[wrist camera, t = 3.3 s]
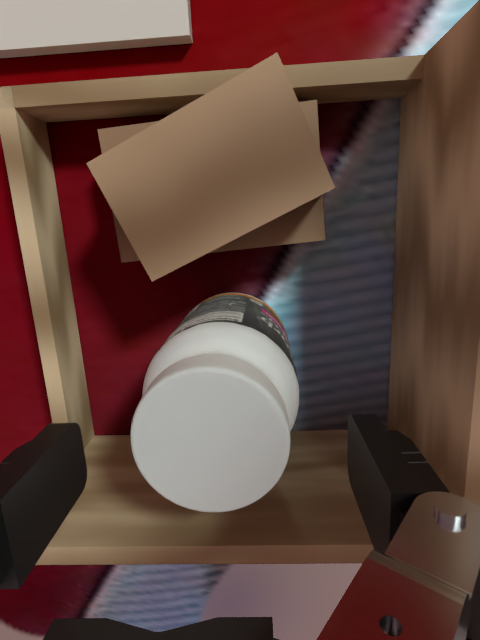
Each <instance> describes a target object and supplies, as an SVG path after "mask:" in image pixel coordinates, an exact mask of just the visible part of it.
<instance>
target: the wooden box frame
mask: <svg viewBox="0 0 480 640" xmlns="http://www.w3.org/2000/svg"><path fill="white" fill-rule="evenodd" d="M283 67H284V69H285V71H286V74H287V76H288V78H289V81H290V83H291V85H292V88H293V90H294V92H295V95H296V97H297V99H298V102H303V101H310V100H317V104H321V103H336V102H350V101H365V100H379V99H393V98H401V107H400V132H399V157H398V181H397V206H396V231H395V256H394V280H393V305H392V330H391V355H390V379H389V404H388V429H386V430H387V431H388V430H397V431H399V432H400V433H402V434H403V435H405V436H407V437H408V438H410V439H411V440H412V441H413V442H414V444H415V445H416V447H417V448H418V449H419V451H420V453H422V455H423V456H424V458H425V459H426V460H427V463H429V464H430V466H431V467H432V468H433V470H434V471H435V473H436V474H437V475H438V477H439V478H440V479H441V481H442V482H443V484H444V485H445V486H446V488H447V489H448V490H449V492H450V493H452V494H455V495H458V496H461V497H463V498H466V499H468V500H470V501H471V502H473V503H474V504H476V505H477V506H479V507H480V0H479V1H478V2H477V3H476V4H475V5H474V6H473V7H472V8H471V9H470V10H469V11H468V12H467V13H466V14H465V15H464V16H463V17H462V18H461V19H460V20H459V21H458V22H457V23H456V24H455V25H454V26H453V27H452V28H451V29H450V30H449V31H448V32H447V33H446V34H445V35H444V36H443V37H442V38H441V39H440V40H439V41H438V42H437V43H436V44H435V45H434V46H433V47H432V48H431V49H430V50H429V51H428V52H427V53H426V54H425V55H418V56H405V57H392V58H378V59H365V60H352V61H338V62H325V63H312V64H298V65H285V66H283ZM248 69H250V68H245V69H232V70H218V71H205V72H192V73H178V74H165V75H152V76H138V77H125V78H112V79H98V80H85V81H72V82H58V83H45V84H31V85H18V86H5V87H0V134H1V140H2V146H3V151H4V157H5V162H6V168H7V173H8V179H9V184H10V190H11V195H12V201H13V207H14V212H15V218H16V223H17V229H18V234H19V240H20V245H21V251H22V256H23V262H24V268H25V273H26V279H27V284H28V290H29V295H30V301H31V306H32V312H33V317H34V323H35V329H36V334H37V340H38V345H39V351H40V356H41V362H42V367H43V373H44V378H45V384H46V390H47V395H48V401H49V406H50V412H51V417H52V423H77V424H78V425H79V426H80V429H81V434H82V440H83V447H84V453H85V459H86V465H87V481H86V485H85V488H84V490H83V492H82V494H81V495H80V497H79V498H78V500H77V501H76V503H75V504H74V506H73V508H72V509H71V511H70V512H69V514H68V515H67V517H66V518H65V520H64V521H63V523H62V524H61V526H60V527H59V529H58V531H57V532H56V534H55V535H54V537H53V538H52V540H51V541H50V543H49V544H48V546H47V547H46V549H45V551H44V552H43V554H42V555H41V557H40V558H39V560H38V561H37V563H36V564H35V565H124V564H295V563H296V564H302V563H303V564H306V563H307V564H308V563H363V562H364V561H365V559H366V557H367V556H368V554H369V553H370V552H371V551H372V550H374V548H373V545H372V542H371V540H370V537H369V534H368V532H367V529H366V526H365V523H364V521H363V518H362V515H361V512H360V510H359V507H358V504H357V502H356V499H355V496H354V493H353V491H352V488H351V485H350V481H349V475H348V466H347V448H348V430H311V431H291V432H290V440H291V442H290V452H289V458H288V461H287V464H286V467H285V469H284V471H283V473H282V475H281V477H280V479H279V480H278V482H277V483H276V484H275V485H274V487H273V488H272V489H271V490H270V491H269V492H267V493H266V494H265V495H264V496H263V497H261V498H260V499H259V500H257V501H255V502H253V503H252V504H250V505H248V506H245V507H242V508H239V509H236V510H232V511H226V512H200V511H196V510H191V509H188V508H185V507H182V506H180V505H177V504H175V503H173V502H171V501H170V500H168V499H166V498H165V497H163V496H162V495H161V494H159V493H158V492H157V491H156V490H155V489H154V488H153V487H151V486H150V484H149V483H148V482H147V481H146V479H145V478H144V477H143V476H142V474H141V472H140V470H139V469H138V467H137V465H136V462H135V460H134V457H133V453H132V448H131V436H130V435H102V436H94V429H93V423H92V416H91V410H90V403H89V397H88V390H87V384H86V377H85V371H84V364H83V358H82V351H81V345H80V338H79V332H78V325H77V319H76V312H75V306H74V299H73V293H72V286H71V280H70V273H69V267H68V260H67V254H66V247H65V241H64V234H63V228H62V221H61V215H60V208H59V202H58V195H57V189H56V182H55V176H54V169H53V163H52V156H51V150H50V143H49V137H48V130H47V124H46V123H47V122H61V121H76V120H90V119H105V118H119V117H134V116H148V115H162V114H172V113H174V112H175V111H177V110H179V109H181V108H182V107H184V106H186V105H188V104H189V103H191V102H193V101H194V100H196V99H198V98H200V97H201V96H203V95H205V94H206V93H208V92H210V91H212V90H213V89H215V88H217V87H219V86H220V85H222V84H224V83H225V82H227V81H229V80H231V79H232V78H234V77H236V76H237V75H239V74H241V73H243V72H244V71H246V70H248Z"/></svg>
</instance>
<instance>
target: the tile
mask: <svg viewBox="0 0 480 640" xmlns="http://www.w3.org/2000/svg"><path fill="white" fill-rule="evenodd" d="M189 43H193V39H192V25H191V11H190V0H0V58H12V57H25V56H37V55H50V54H62V53H75V52H88V51H100V50H113V49H126V48H138V47H151V46H164V45H176V44H189Z"/></svg>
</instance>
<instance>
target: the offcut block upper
mask: <svg viewBox="0 0 480 640" xmlns="http://www.w3.org/2000/svg"><path fill="white" fill-rule="evenodd" d="M86 164H87V165H88V167H89V169H90V171H91V173H92V174H93V176H94V178H95V180H96V182H97V184H98V185H99V187H100V189H101V191H102V193H103V194H104V196H105V198H106V200H107V202H108V203H109V205H110V207H111V209H112V211H113V212H114V214H115V216H116V218H117V220H118V221H119V223H120V225H121V227H122V229H123V230H124V232H125V234H126V236H127V238H128V239H129V241H130V243H131V245H132V247H133V248H134V250H135V252H136V254H137V256H138V257H139V259H140V261H141V263H142V265H143V267H144V268H145V270H146V272H147V274H148V276H149V277H150V279H151V281H152V282H153V281H155V280H156V279H158V278H160V277H162V276H164V275H166V274H168V273H170V272H172V271H174V270H176V269H178V268H180V267H182V266H184V265H186V264H188V263H190V262H192V261H194V260H195V259H197V258H199V257H201V256H203V255H205V254H207V253H209V252H211V251H213V250H215V249H217V248H219V247H221V246H223V245H225V244H227V243H229V242H231V241H233V240H235V239H236V238H238V237H240V236H242V235H244V234H246V233H248V232H250V231H252V230H254V229H256V228H258V227H260V226H262V225H264V224H266V223H268V222H270V221H272V220H274V219H275V218H277V217H279V216H281V215H283V214H285V213H287V212H289V211H291V210H293V209H295V208H297V207H299V206H301V205H303V204H305V203H307V202H309V201H311V200H313V199H314V198H316V197H318V196H320V195H322V194H324V193H326V192H328V191H330V190H332V189H334V188H335V186H334V183H333V181H332V179H331V176H330V174H329V172H328V169H327V167H326V165H325V162H324V160H323V158H322V155H321V153H320V151H319V148H318V146H317V144H316V141H315V139H314V137H313V134H312V132H311V130H310V127H309V125H308V123H307V120H306V118H305V116H304V113H303V111H302V109H301V106H300V104H299V102H298V99H297V97H296V95H295V92H294V90H293V88H292V85H291V83H290V81H289V78H288V76H287V74H286V71H285V69H284V67H283V64H282V62H281V60H280V57H279V55H278V53H275V54H274V55H272V56H270V57H269V58H267V59H265V60H263V61H262V62H260V63H258V64H256V65H255V66H253V67H251V68H250V69H248V70H246V71H244V72H243V73H241V74H239V75H237V76H236V77H234V78H232V79H231V80H229V81H227V82H225V83H224V84H222V85H220V86H219V87H217V88H215V89H213V90H212V91H210V92H208V93H206V94H205V95H203V96H201V97H200V98H198V99H196V100H194V101H193V102H191V103H189V104H188V105H186V106H184V107H182V108H181V109H179V110H177V111H175V112H174V113H172V114H170V115H169V116H167V117H165V118H163V119H162V120H160V121H158V122H156V123H155V124H153V125H151V126H150V127H148V128H146V129H144V130H143V131H141V132H139V133H138V134H136V135H134V136H132V137H131V138H129V139H127V140H125V141H124V142H122V143H120V144H119V145H117V146H115V147H113V148H112V149H110V150H108V151H107V152H105V153H103V154H101V155H100V156H98V157H96V158H94V159H93V160H91V161H89V162H88V163H86Z"/></svg>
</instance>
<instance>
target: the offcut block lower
mask: <svg viewBox="0 0 480 640" xmlns="http://www.w3.org/2000/svg"><path fill="white" fill-rule="evenodd" d="M299 104H300V106H301V109H302V111H303V113H304V116H305V118H306V120H307V123H308V125H309V127H310V130H311V132H312V134H313V137H314V139H315V141H316V144H317V146H318V148H319V151H320V141H319V124H318V107H317V100H310V101H303V102H299ZM156 122H158V121H155V122H148V123H141V124H133V125H126V126H119V127H111V128H104V129H97V130H98V136H99V141H100V147H101V152H102V154H103V153H105V152H107V151H108V150H110V149H112V148H113V147H115V146H117V145H119V144H120V143H122V142H124V141H125V140H127V139H129V138H131V137H132V136H134V135H136V134H138V133H139V132H141V131H143V130H144V129H146V128H148V127H150V126H151V125H153V124H155V123H156ZM112 213H113V218H114V224H115V229H116V235H117V240H118V246H119V251H120V257H121V262H122V263H124V262H133V261H140V259H139V257H138V256H137V254H136V252H135V250H134V248H133V247H132V245H131V243H130V241H129V239H128V238H127V236H126V234H125V232H124V230H123V229H122V227H121V225H120V223H119V221H118V220H117V218H116V216H115V214H114V212H113V211H112ZM322 240H325V224H324V208H323V194H322V195H320V196H318V197H316V198H314V199H313V200H311V201H309V202H307V203H305V204H303V205H301V206H299V207H297V208H295V209H293V210H291V211H289V212H287V213H285V214H283V215H281V216H279V217H277V218H275V219H274V220H272V221H270V222H268V223H266V224H264V225H262V226H260V227H258V228H256V229H254V230H252V231H250V232H248V233H246V234H244V235H242V236H240V237H238V238H236V239H235V240H233V241H231V242H229V243H227V244H225V245H223V246H221V247H219V248H217V249H215V250H213V251H211V252H209V253H214V252H223V251H232V250H241V249H250V248H259V247H268V246H277V245H286V244H295V243H304V242H313V241H322Z"/></svg>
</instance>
